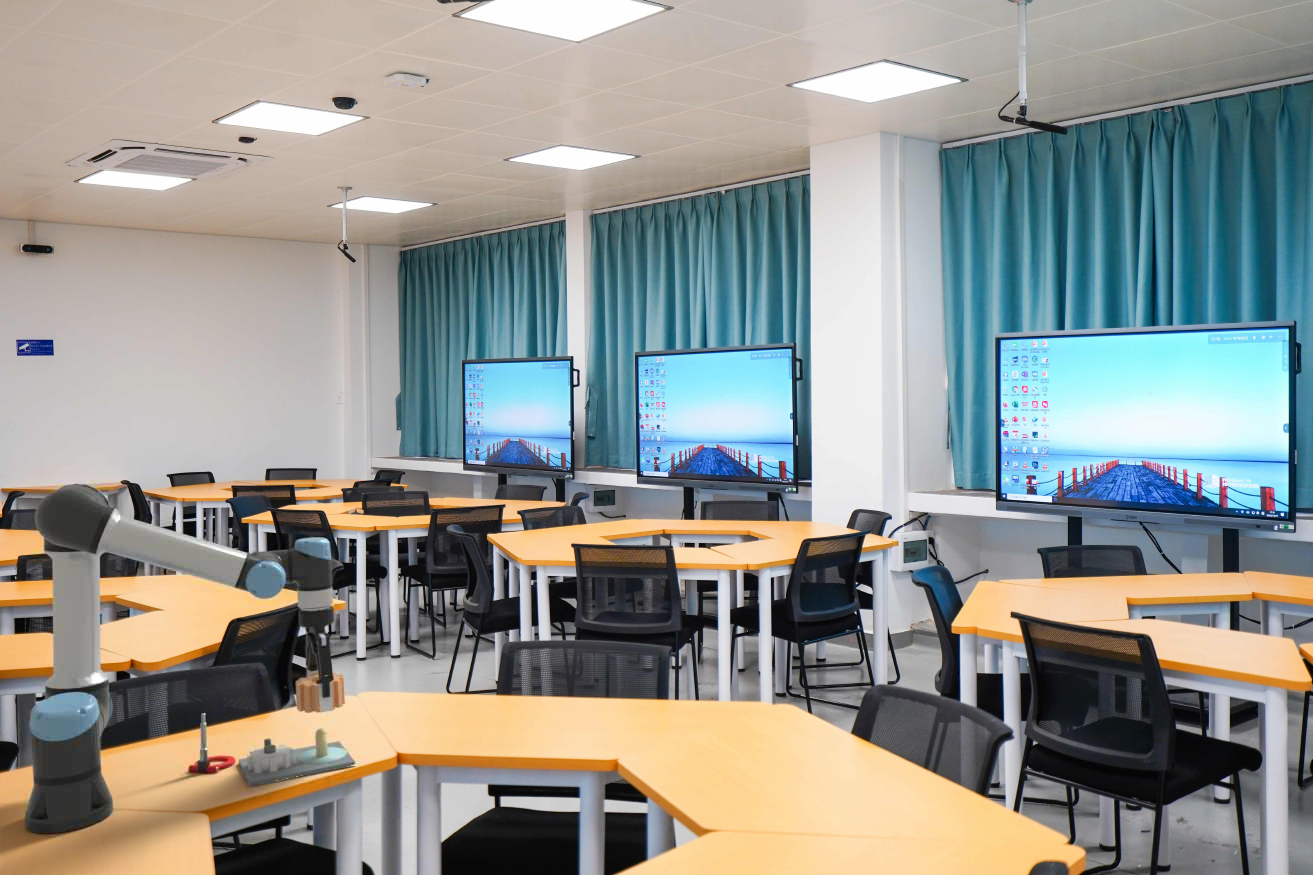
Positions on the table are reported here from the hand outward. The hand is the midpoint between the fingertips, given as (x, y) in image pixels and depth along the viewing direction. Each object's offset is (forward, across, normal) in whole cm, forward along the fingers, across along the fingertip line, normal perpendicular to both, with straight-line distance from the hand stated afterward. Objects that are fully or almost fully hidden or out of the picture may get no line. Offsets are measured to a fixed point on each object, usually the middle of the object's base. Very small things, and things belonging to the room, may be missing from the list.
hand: (321, 704), depth 234 cm
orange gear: (0, 0, 0) cm, 0 cm away
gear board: (+12, 0, +6) cm, 14 cm away
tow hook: (+13, +10, +22) cm, 27 cm away
